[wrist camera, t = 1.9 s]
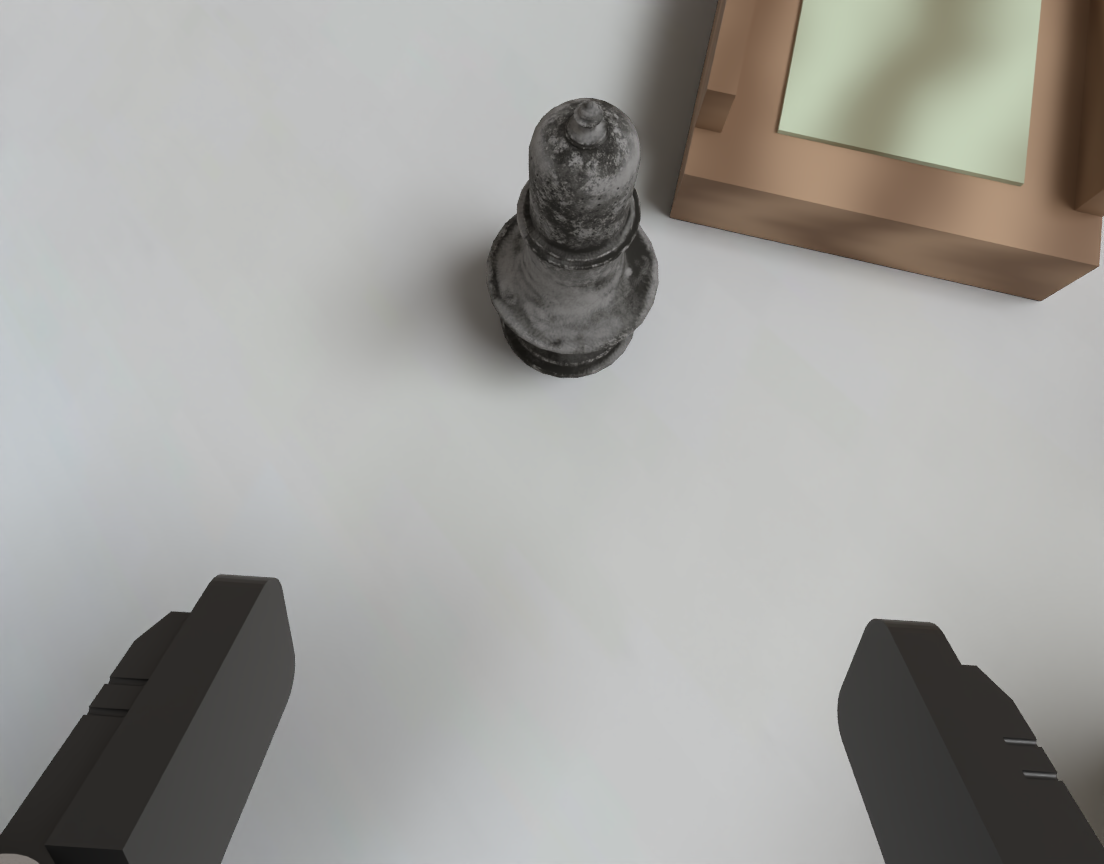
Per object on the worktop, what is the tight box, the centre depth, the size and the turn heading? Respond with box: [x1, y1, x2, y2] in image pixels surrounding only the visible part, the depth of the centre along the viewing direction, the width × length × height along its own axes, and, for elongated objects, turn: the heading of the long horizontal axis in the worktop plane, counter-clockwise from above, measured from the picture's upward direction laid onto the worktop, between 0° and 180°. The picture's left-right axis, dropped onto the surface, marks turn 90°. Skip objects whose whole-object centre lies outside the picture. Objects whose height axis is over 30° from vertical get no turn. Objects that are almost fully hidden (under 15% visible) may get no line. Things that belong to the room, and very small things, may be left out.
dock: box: [670, 0, 1104, 301], centre depth 28 cm, size 15×14×5 cm
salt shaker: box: [487, 98, 658, 378], centre depth 22 cm, size 6×6×12 cm
